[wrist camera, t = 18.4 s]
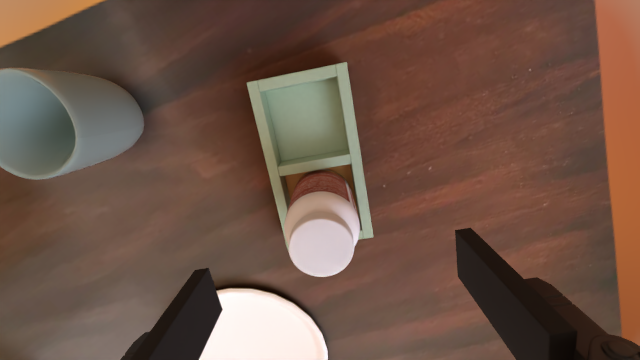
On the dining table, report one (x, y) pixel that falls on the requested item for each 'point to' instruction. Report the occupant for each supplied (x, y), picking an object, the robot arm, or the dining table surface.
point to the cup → (63, 121)
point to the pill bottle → (321, 224)
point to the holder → (310, 133)
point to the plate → (262, 329)
